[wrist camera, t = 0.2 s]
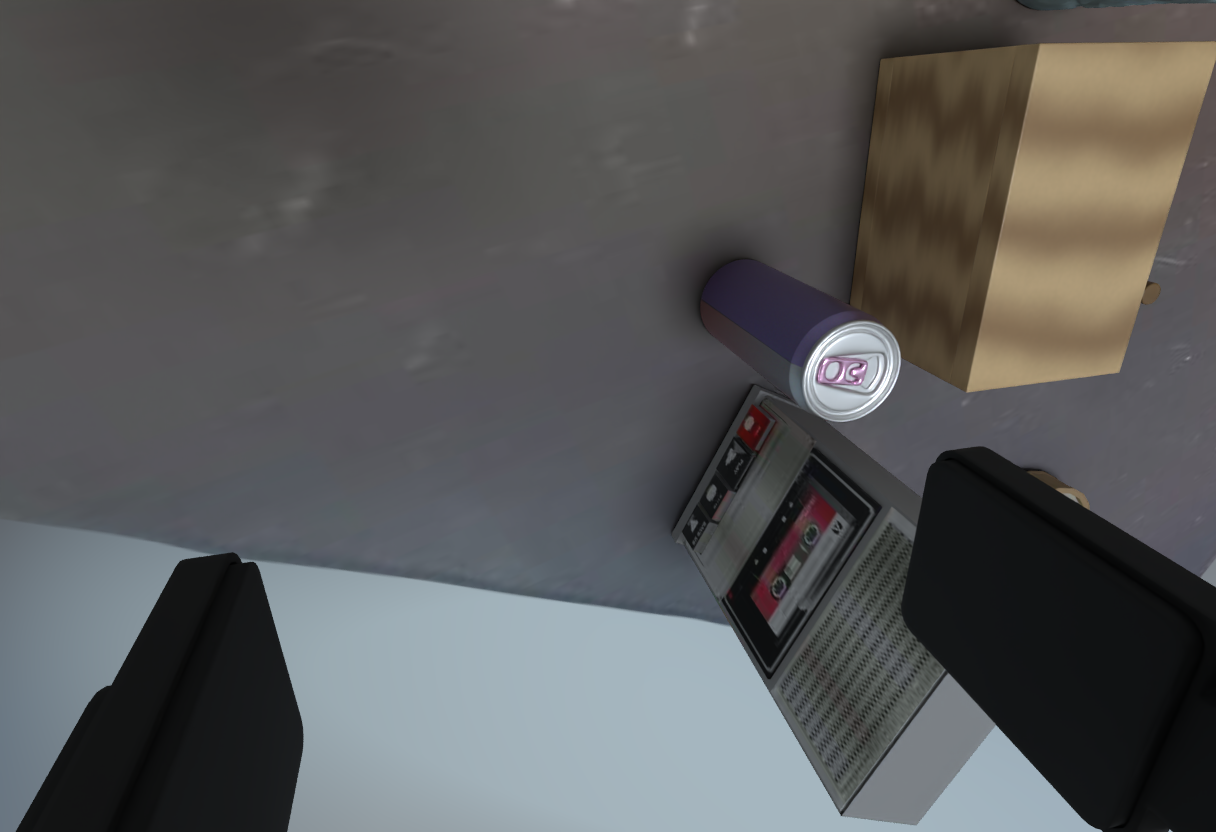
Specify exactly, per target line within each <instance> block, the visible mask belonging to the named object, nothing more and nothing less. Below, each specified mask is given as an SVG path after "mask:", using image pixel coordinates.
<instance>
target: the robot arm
mask: <svg viewBox="0 0 1216 832" xmlns="http://www.w3.org/2000/svg"><path fill="white" fill-rule="evenodd" d="M901 613H902V617H903V620H904V622H905V624H906V626H907V628H908V629H909V630H910V632H911V633H912V634H913V635H914V636H915V637H916V638H917V639H918V640H919V641H920V642H921V644H922V645H923V646H924V647H925V648H926V649H927V650H928V651H929V652H930V653H931V654H932V656H933V657H934V658H935V659H936V660H937V661H938V662H939V663H940V664H941V665H942V666H943V668H944V669H945V670H946V671H947V672H948V673H949V674H950V675H951V676H952V677H953V678H954V679H955V681H956V682H957V683H958V684H959V685H960V686H961V687H962V688H963V689H964V690H965V691H966V693H967V694H968V695H969V696H970V697H971V698H972V699H973V700H974V701H975V702H976V703H977V705H978V706H979V707H980V708H981V709H982V710H983V711H984V712H985V713H986V714H987V715H988V717H989V718H990V719H991V720H992V721H993V722H994V723H995V724H996V725H997V726H998V727H999V729H1000V730H1001V731H1002V732H1003V733H1004V734H1005V735H1006V736H1007V737H1008V738H1009V739H1010V740H1011V741H1012V743H1013V744H1014V745H1015V746H1016V747H1017V748H1018V749H1019V750H1020V751H1021V752H1022V754H1023V755H1024V756H1025V757H1026V758H1027V759H1028V760H1029V761H1030V762H1031V763H1032V764H1033V766H1034V767H1035V768H1036V769H1037V770H1038V771H1039V772H1040V773H1041V774H1042V775H1043V776H1044V777H1045V779H1046V780H1047V781H1048V782H1049V783H1050V784H1051V785H1052V786H1053V787H1054V788H1055V789H1056V791H1057V792H1058V793H1059V794H1060V795H1061V796H1062V797H1063V798H1064V799H1065V800H1066V801H1067V803H1068V804H1069V805H1070V806H1071V807H1072V808H1073V809H1074V810H1075V811H1076V812H1077V813H1078V814H1079V816H1080V817H1081V818H1082V819H1083V820H1085V821H1086V822H1087V823H1088V824H1089V825H1091V826H1093V827H1094V828H1097V829H1101V830H1102V831H1103V832H1168V831H1169V829H1170V830H1171V831H1173V832H1216V587H1214V586H1213V585H1211V584H1209V583H1208V582H1206V581H1204V580H1203V579H1201V578H1200V577H1198V576H1196V575H1195V574H1193V573H1191V572H1190V571H1188V570H1186V569H1185V568H1183V567H1182V566H1180V565H1178V564H1177V563H1175V562H1173V561H1172V560H1170V559H1168V558H1167V557H1165V556H1164V555H1162V554H1160V553H1159V552H1157V551H1155V550H1154V549H1152V548H1150V547H1149V546H1147V545H1146V544H1144V543H1142V542H1141V541H1139V540H1137V539H1136V538H1134V537H1132V536H1131V535H1129V534H1128V533H1126V532H1124V531H1123V530H1121V529H1119V528H1118V527H1116V526H1115V525H1113V524H1111V523H1110V522H1108V521H1106V520H1105V519H1103V518H1101V517H1100V516H1098V515H1097V514H1095V513H1093V512H1092V511H1090V510H1088V509H1087V508H1085V507H1083V506H1082V505H1080V504H1079V503H1077V502H1075V501H1074V500H1072V499H1070V498H1069V497H1067V496H1065V495H1064V494H1062V493H1061V492H1059V491H1057V490H1056V489H1054V488H1052V487H1051V486H1049V485H1047V484H1046V483H1044V482H1043V481H1041V480H1039V479H1038V478H1036V477H1034V476H1033V475H1031V474H1029V473H1028V472H1026V471H1025V470H1023V469H1021V468H1020V467H1018V466H1016V465H1015V464H1013V463H1012V462H1010V461H1008V460H1007V459H1005V458H1003V457H1002V456H1000V455H998V454H997V453H995V452H994V451H992V450H990V449H988V448H986V447H970V448H963V449H956V450H949V451H945V452H943V453H941V454H940V455H939V457H938V458H937V460H936V462H935V463H933V464H932V465H931V466H930V468H929V470H928V473H927V478H926V483H925V488H924V493H923V498H922V503H921V508H920V513H919V518H918V523H917V528H916V533H915V538H914V543H913V548H912V553H911V558H910V563H909V568H908V573H907V578H906V583H905V588H904V593H903V597H902V602H901ZM302 751H303V726H302V720H301V716H300V712H299V709H298V705H297V702H296V698H295V695H294V691H293V688H292V684H291V680H290V677H289V674H288V670H287V666H286V663H285V659H284V656H283V652H282V649H281V645H280V642H279V638H278V634H277V631H276V627H275V624H274V620H273V617H272V613H271V610H270V606H269V603H268V599H267V595H266V592H265V588H264V585H263V581H262V578H261V574H260V571H259V569H258V566H257V565H256V563H254V562H247V563H242V562H241V559H240V558H239V556H238V555H237V554H235V553H226V554H219V555H212V556H205V557H198V558H191V559H185V560H182V561H180V562H179V563H178V565H177V566H176V567H175V569H174V571H173V573H172V575H171V577H170V578H169V580H168V582H167V584H166V586H165V588H164V589H163V591H162V593H161V595H160V597H159V599H158V601H157V602H156V604H155V606H154V608H153V610H152V612H151V613H150V615H149V617H148V619H147V621H146V623H145V624H144V626H143V628H142V630H141V632H140V634H139V636H138V637H137V639H136V641H135V643H134V645H133V647H132V648H131V650H130V652H129V654H128V656H127V658H126V660H125V661H124V663H123V665H122V667H121V669H120V670H119V672H118V674H117V676H116V678H115V680H114V682H113V683H112V685H111V686H106V687H104V688H103V689H101V690H100V691H98V692H97V693H96V694H95V695H94V697H93V698H92V699H91V701H90V702H89V703H88V705H87V707H86V708H85V710H84V712H83V714H82V716H81V717H80V719H79V721H78V723H77V724H76V726H75V728H74V730H73V731H72V733H71V735H70V737H69V738H68V740H67V742H66V744H65V745H64V747H63V749H62V751H61V753H60V754H59V756H58V758H57V760H56V761H55V763H54V765H53V767H52V769H51V770H50V772H49V774H48V776H47V777H46V779H45V781H44V783H43V784H42V786H41V788H40V790H39V791H38V793H37V795H36V797H35V799H34V800H33V802H32V804H31V806H30V808H29V809H28V811H27V813H26V814H25V816H24V818H23V820H22V821H21V823H20V825H19V827H18V828H17V830H16V832H287V830H288V824H289V819H290V814H291V809H292V803H293V799H294V794H295V788H296V783H297V778H298V773H299V767H300V762H301V757H302Z"/></svg>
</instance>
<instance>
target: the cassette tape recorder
mask: <svg viewBox="0 0 1216 832" xmlns="http://www.w3.org/2000/svg"><path fill="white" fill-rule="evenodd" d="M921 503H922V498H921V497H920V496H919V495H917V494H916V493H915V492H913V491H912V490H911V489H910V488H908V487H907V486H906V485H905V484H903V483H902V482H901V481H900V480H898V479H897V478H896V477H895V476H893V475H892V474H891V473H890V472H888V471H887V470H886V469H885V468H883V467H882V466H881V465H880V464H878V463H877V462H876V461H875V460H873V459H872V458H871V457H870V456H868V455H867V454H866V453H865V452H863V451H862V450H861V449H860V448H858V447H857V446H856V445H855V444H853V443H852V442H851V441H850V440H848V439H847V438H846V437H845V436H843V435H842V434H841V433H840V432H838V431H837V430H836V429H835V428H833V427H832V426H831V425H830V424H828V423H827V422H826V421H825V420H823V419H822V418H820V417H818V416H815V415H812V414H810V413H808V412H806V411H805V410H804V409H802V408H801V407H800V406H799V405H797V404H796V403H795V402H794V401H792V400H791V399H788V398H786V397H783V396H781V395H779V394H776V393H774V392H771V391H769V390H766V389H764V388H762V387H759V386H757V385H754V386H753V388H752V389H751V391H750V393H749V395H748V397H747V399H746V400H745V402H744V404H743V406H742V408H741V409H740V411H739V413H738V415H737V417H736V418H735V420H734V422H733V424H732V426H731V427H730V429H729V431H728V433H727V435H726V436H725V438H724V440H723V442H722V444H721V446H720V447H719V449H718V451H717V453H716V455H715V456H714V458H713V460H712V462H711V464H710V465H709V467H708V469H707V471H706V473H705V474H704V476H703V478H702V480H701V482H700V483H699V485H698V487H697V489H696V491H695V493H694V494H693V496H692V498H691V500H690V502H689V503H688V505H687V507H686V509H685V511H684V512H683V514H682V516H681V518H680V520H679V521H678V523H677V525H676V527H675V529H674V530H673V532H672V534H671V535H672V537H673V539H674V541H675V542H676V543H679V544H682V545H684V546H685V547H686V549H687V551H688V553H689V554H690V556H691V558H692V560H693V561H694V563H695V565H696V566H697V568H698V570H699V572H700V573H701V575H702V577H703V578H704V580H705V582H706V584H707V585H708V587H709V589H710V591H711V592H712V594H713V596H714V597H715V599H716V601H717V603H718V604H719V606H720V608H721V609H722V611H723V613H724V615H725V616H726V618H727V620H728V622H729V623H730V625H731V627H732V628H733V630H734V632H735V633H736V635H737V637H738V639H739V640H740V642H741V644H742V646H743V647H744V649H745V651H746V652H747V654H748V656H749V657H750V659H751V661H752V663H753V665H754V666H755V668H756V670H757V671H758V673H759V675H760V677H761V678H762V680H763V682H764V684H765V685H766V687H767V689H768V690H769V692H770V694H771V695H772V697H773V699H774V701H775V702H776V704H777V706H778V707H779V709H780V711H781V713H782V715H783V716H784V718H785V720H786V721H787V723H788V725H789V727H790V728H791V730H792V732H793V733H794V735H795V737H796V739H797V740H798V742H799V744H800V745H801V747H802V749H803V751H804V752H805V754H806V756H807V758H808V759H809V761H810V763H811V764H812V766H813V768H814V770H815V771H816V773H817V775H818V776H819V778H820V780H821V782H822V783H823V785H824V787H825V789H826V790H827V792H828V794H829V795H830V797H831V799H832V801H833V802H834V804H835V806H836V808H837V809H838V811H839V813H840V814H841V816H845V817H854V818H861V819H869V820H878V821H885V822H893V823H901V824H910V825H917V824H918V823H919V821H920V820H921V819H922V817H923V816H924V815H925V814H926V812H927V811H928V810H929V809H930V807H931V806H932V805H933V804H934V802H935V801H936V800H937V799H938V797H939V796H940V795H941V794H942V792H943V791H944V790H945V788H946V787H947V786H948V784H949V783H950V782H951V781H952V780H953V778H954V777H955V776H956V774H957V773H958V772H959V771H960V769H961V768H962V767H963V766H964V765H965V763H966V762H967V761H968V759H969V758H970V757H971V756H972V754H973V753H974V752H975V751H976V749H977V748H978V747H979V746H980V744H981V743H982V742H983V741H984V739H985V738H986V737H987V735H988V734H989V733H990V732H991V730H992V729H993V728H994V727H995V725H996V724H995V723H994V722H993V721H992V720H991V719H990V718H989V717H988V715H987V714H986V713H985V712H984V711H983V710H982V709H981V708H980V707H979V706H978V705H977V703H976V702H975V701H974V700H973V699H972V698H971V697H970V696H969V695H968V694H967V693H966V691H965V690H964V689H963V688H962V687H961V686H960V685H959V684H958V683H957V682H956V681H955V679H954V678H953V677H952V676H951V675H950V674H949V673H948V672H947V671H946V670H945V669H944V668H943V666H942V665H941V664H940V663H939V662H938V661H937V660H936V659H935V658H934V657H933V656H932V654H931V653H930V652H929V651H928V650H927V649H926V648H925V647H924V646H923V645H922V644H921V642H920V641H919V640H918V639H917V638H916V637H915V636H914V635H913V634H912V633H911V632H910V630H909V629H908V628H907V626H906V624H905V622H904V620H903V617H902V613H901V602H902V597H903V593H904V588H905V583H906V578H907V573H908V568H909V563H910V558H911V553H912V548H913V543H914V538H915V533H916V528H917V523H918V518H919V513H920V508H921Z"/></svg>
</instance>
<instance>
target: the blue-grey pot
mask: <svg viewBox="0 0 1216 832" xmlns="http://www.w3.org/2000/svg"><path fill="white" fill-rule="evenodd" d="M1017 1H1019V2H1020V3H1022V4H1023V5H1025V6H1027V7H1030V8H1033V9H1036V10H1062V9H1073V8H1075V7H1077V6H1083V7H1085V8H1092V7H1093V8H1102V7H1108V6H1112V7H1123V6H1129V5H1148V4H1155V3H1159V4H1166V3H1179V4H1182V3H1216V0H1017Z"/></svg>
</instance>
